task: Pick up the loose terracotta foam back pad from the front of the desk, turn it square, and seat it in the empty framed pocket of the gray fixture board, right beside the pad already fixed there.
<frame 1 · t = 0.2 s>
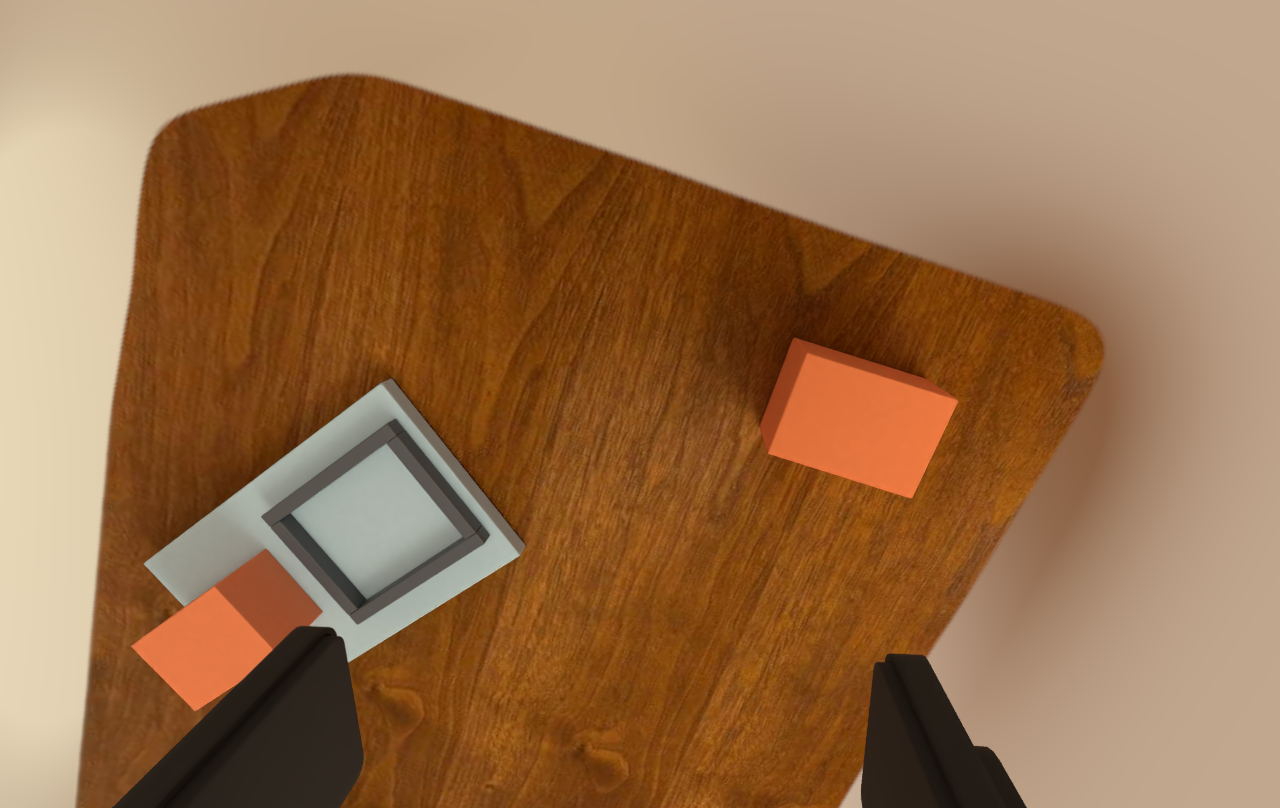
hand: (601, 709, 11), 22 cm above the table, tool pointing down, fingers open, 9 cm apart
back pad: (840, 403, 31), on the table
gray fixture board: (336, 549, 37), on the table
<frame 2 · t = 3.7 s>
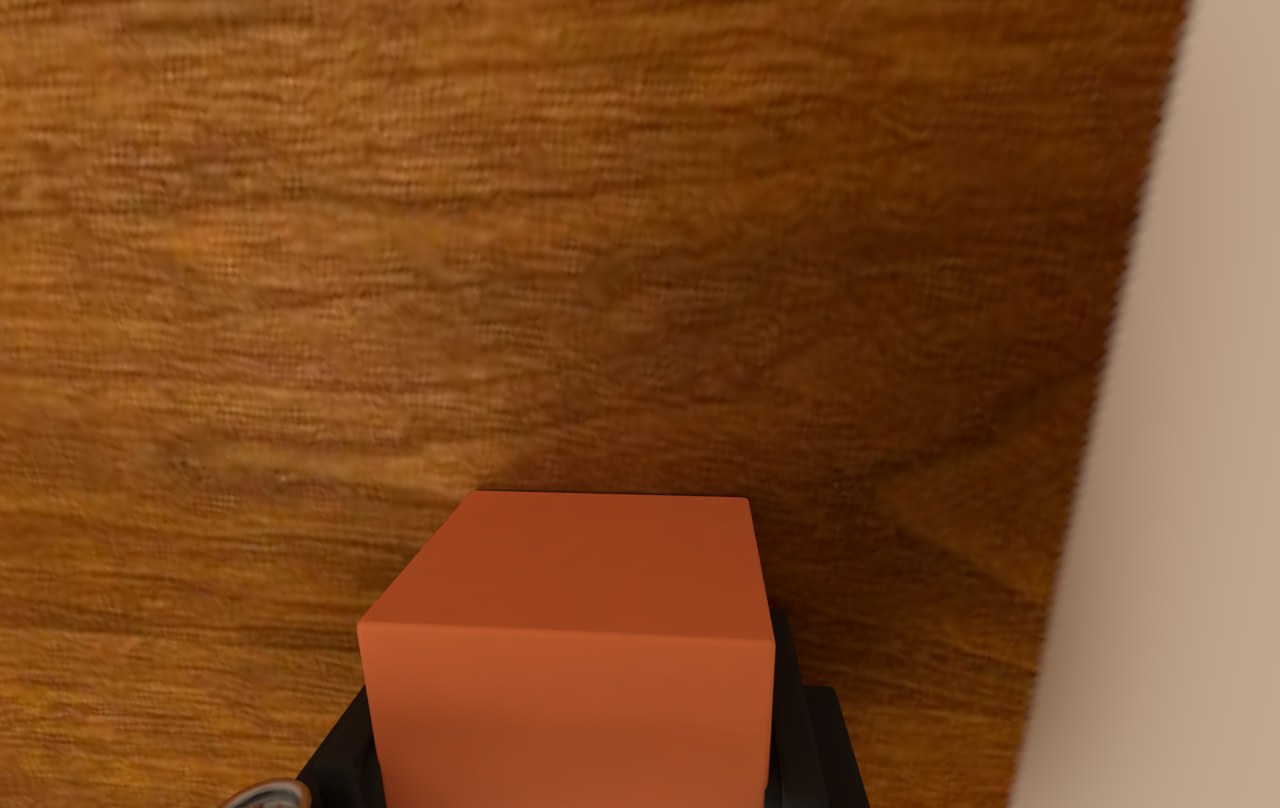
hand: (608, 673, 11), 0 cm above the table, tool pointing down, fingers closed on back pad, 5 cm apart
back pad: (612, 658, 12), on the table, touching gripper
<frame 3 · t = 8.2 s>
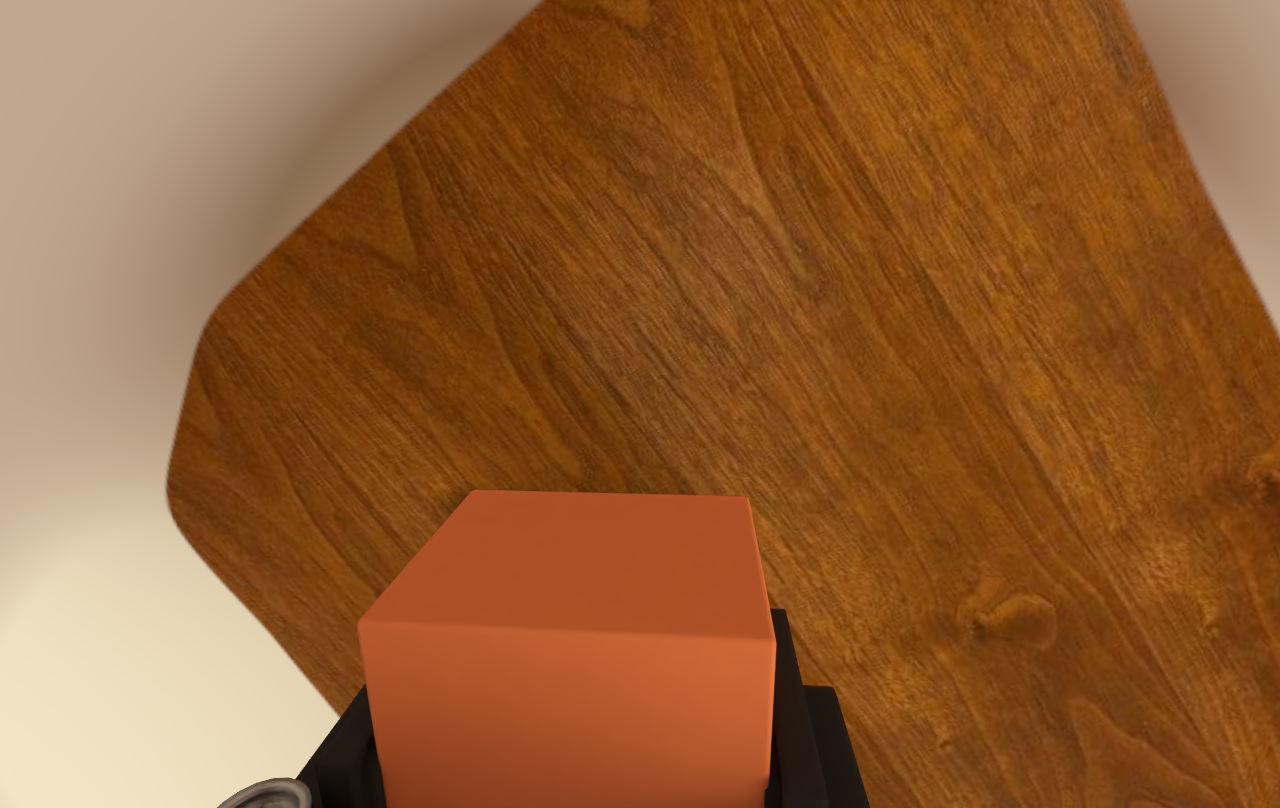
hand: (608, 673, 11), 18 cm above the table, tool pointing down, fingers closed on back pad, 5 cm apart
back pad: (612, 657, 12), point 17 cm above the table, touching gripper
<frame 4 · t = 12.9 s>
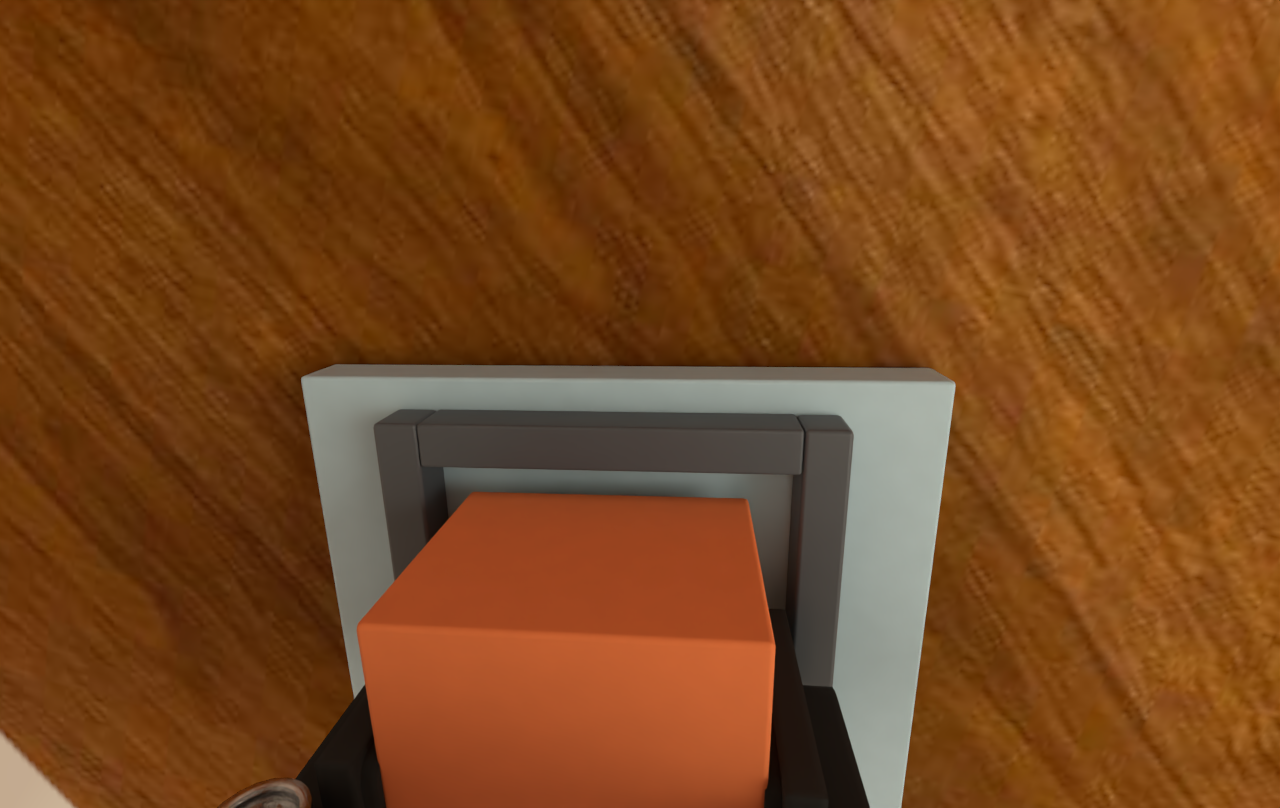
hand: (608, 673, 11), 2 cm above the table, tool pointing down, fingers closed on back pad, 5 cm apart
back pad: (612, 659, 12), point 2 cm above the table, touching gripper
gray fixture board: (628, 767, 15), on the table
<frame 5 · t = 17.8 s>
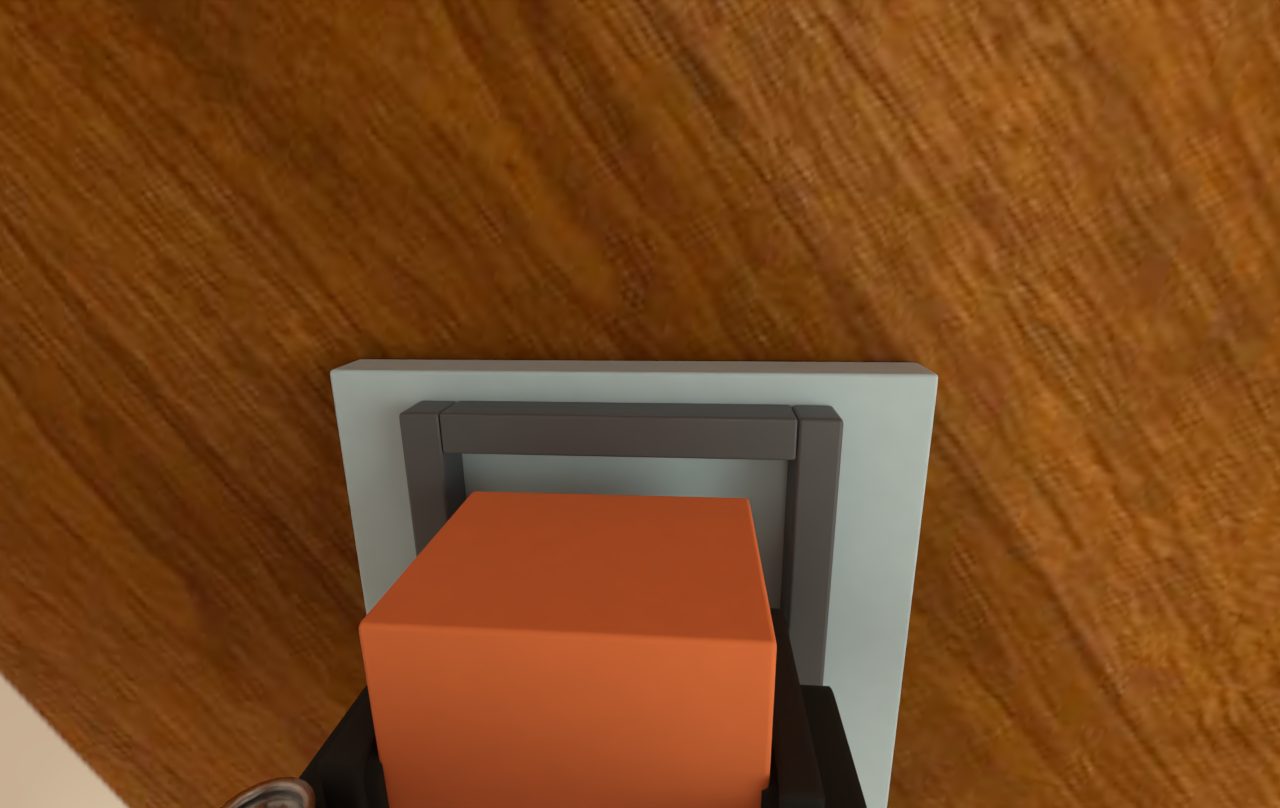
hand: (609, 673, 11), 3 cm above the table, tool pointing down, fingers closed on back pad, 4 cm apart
back pad: (613, 658, 12), point 3 cm above the table, touching gripper
gray fixture board: (633, 742, 16), on the table
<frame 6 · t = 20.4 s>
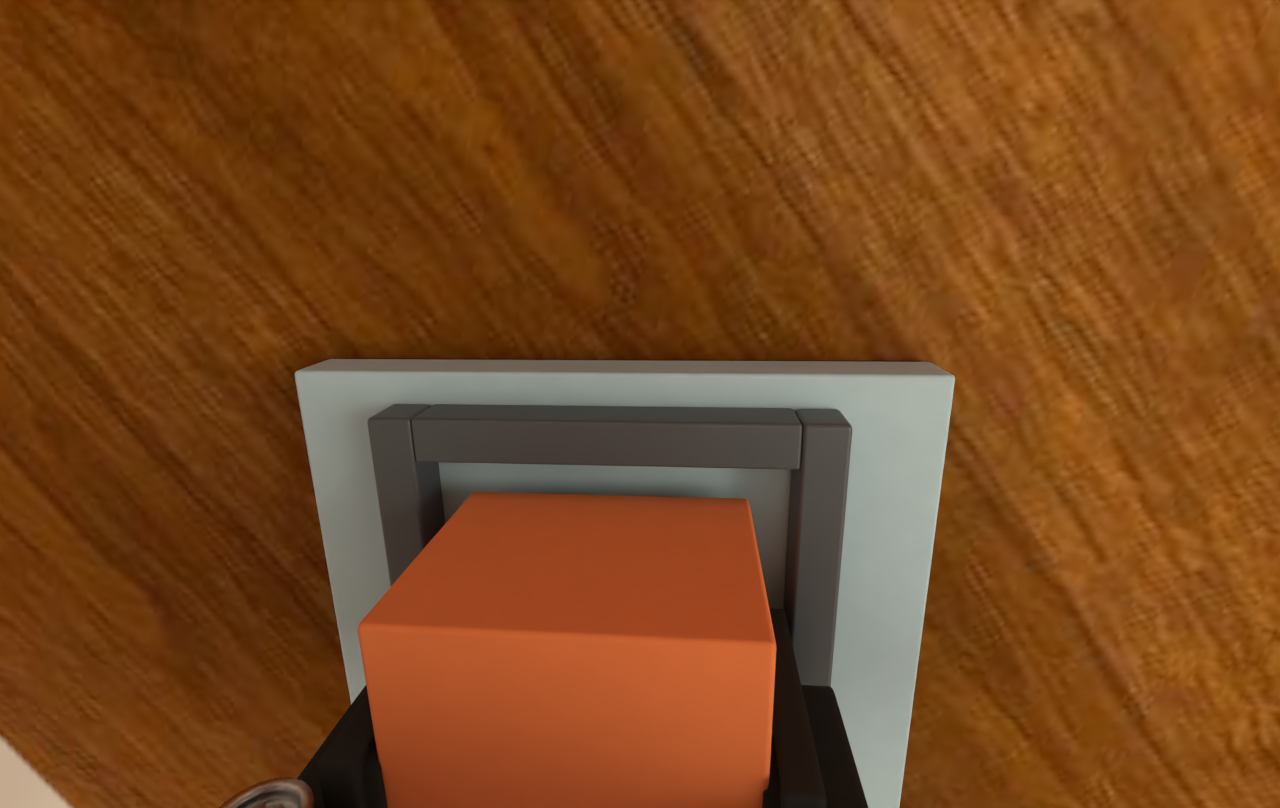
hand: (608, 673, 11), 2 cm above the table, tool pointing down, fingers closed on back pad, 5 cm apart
back pad: (612, 659, 12), point 2 cm above the table, touching gripper
gray fixture board: (626, 764, 15), on the table
when the fingers open (4 cm above the table, at t = 22.5 s): back pad drops 2 cm, resting on gray fixture board.
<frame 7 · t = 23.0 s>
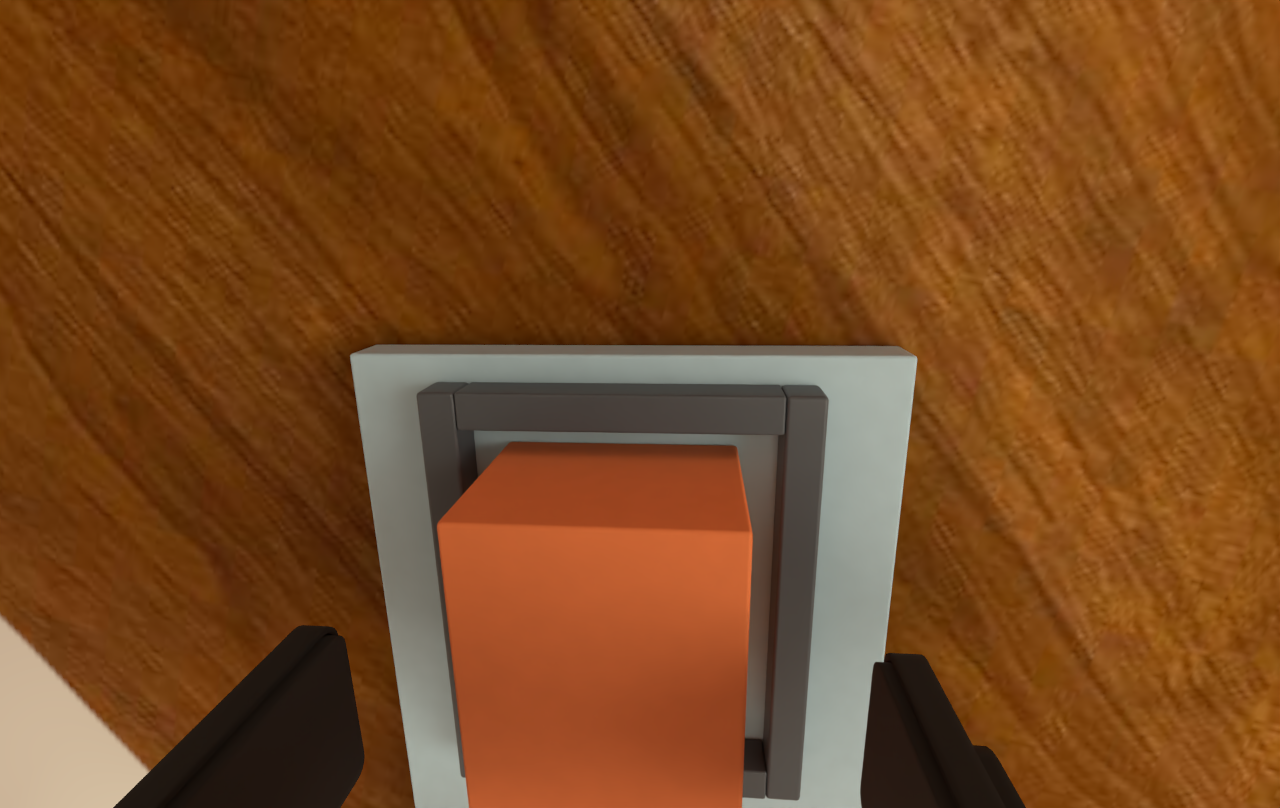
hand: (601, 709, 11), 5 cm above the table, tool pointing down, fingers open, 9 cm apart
back pad: (624, 584, 14), point 1 cm above the table, touching gray fixture board
gray fixture board: (634, 707, 17), on the table
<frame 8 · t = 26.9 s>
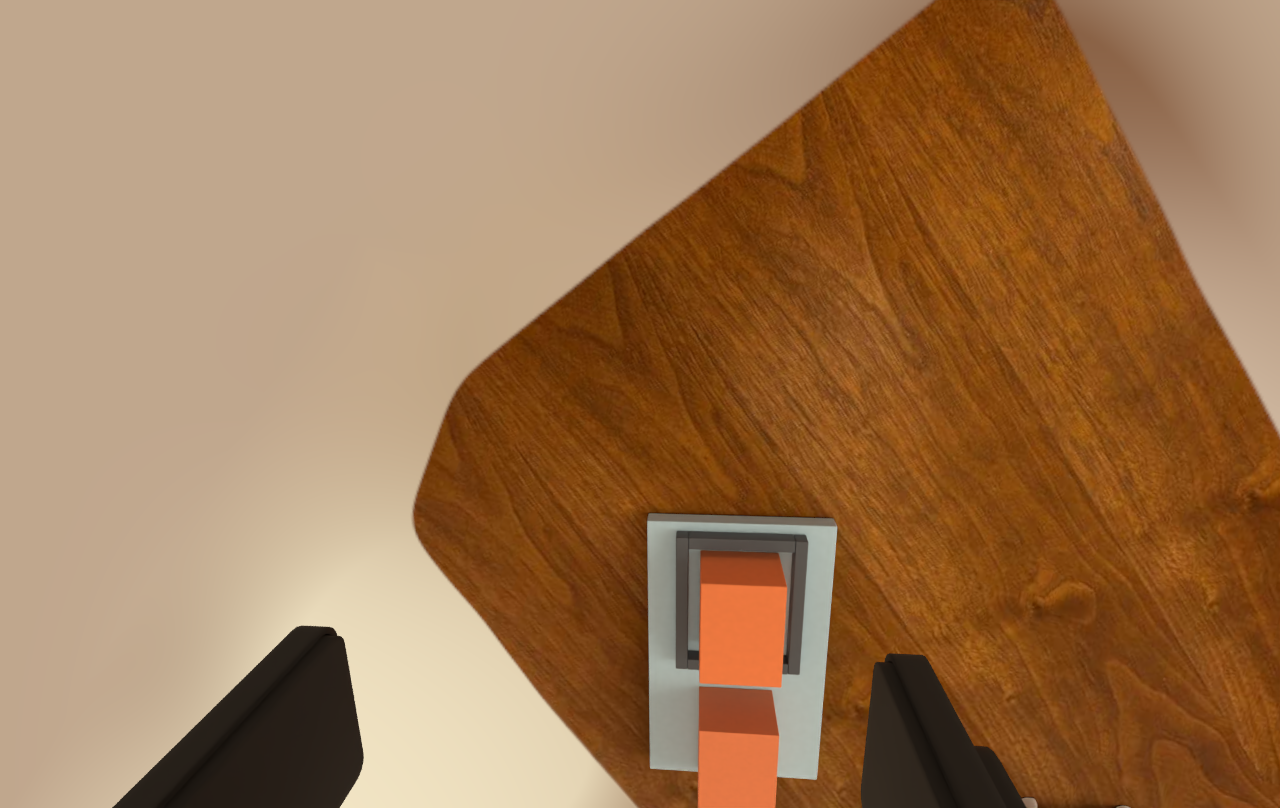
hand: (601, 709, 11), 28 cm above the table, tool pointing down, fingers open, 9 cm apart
back pad: (737, 598, 40), point 1 cm above the table, touching gray fixture board
gray fixture board: (735, 645, 43), on the table
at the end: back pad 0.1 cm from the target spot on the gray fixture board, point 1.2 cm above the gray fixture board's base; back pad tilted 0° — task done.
